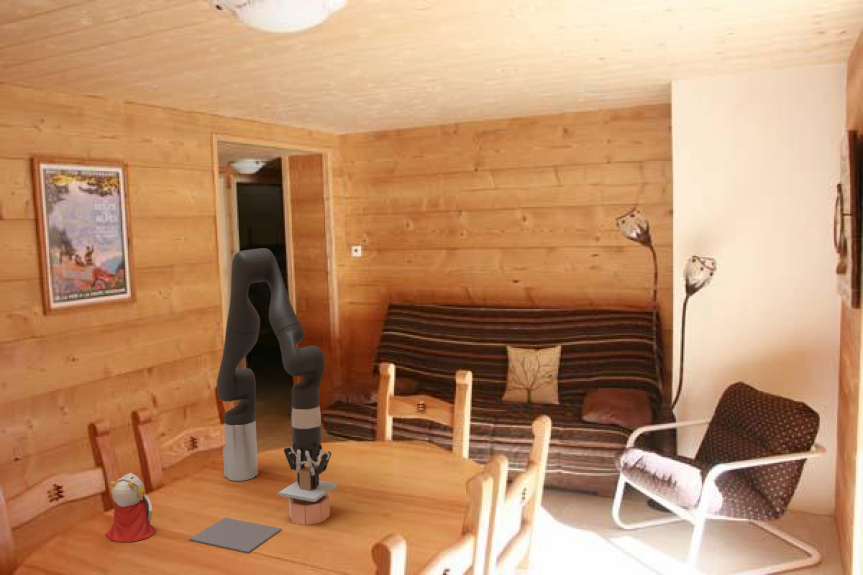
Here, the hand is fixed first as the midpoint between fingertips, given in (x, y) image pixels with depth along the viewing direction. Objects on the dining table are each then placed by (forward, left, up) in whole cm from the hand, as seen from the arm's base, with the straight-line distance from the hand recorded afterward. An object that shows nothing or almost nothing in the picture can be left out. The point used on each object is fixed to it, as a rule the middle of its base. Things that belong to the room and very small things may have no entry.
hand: (308, 486), depth 178 cm
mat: (-11, -16, -8) cm, 21 cm away
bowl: (0, 0, -8) cm, 8 cm away
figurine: (-37, -24, -8) cm, 45 cm away
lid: (0, 0, -1) cm, 1 cm away
